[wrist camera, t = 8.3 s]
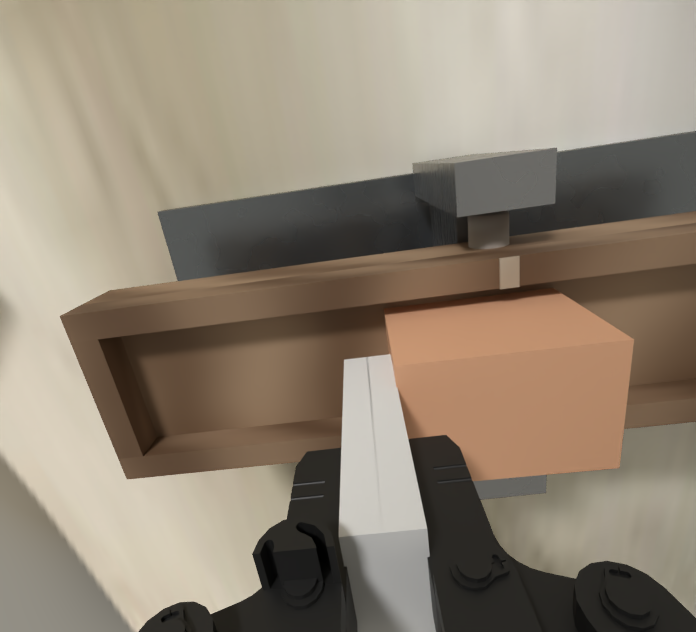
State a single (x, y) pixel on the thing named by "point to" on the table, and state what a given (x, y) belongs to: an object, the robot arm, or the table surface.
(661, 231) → the beam
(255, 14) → the table surface
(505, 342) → the block
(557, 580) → the robot arm
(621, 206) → the fulcrum
